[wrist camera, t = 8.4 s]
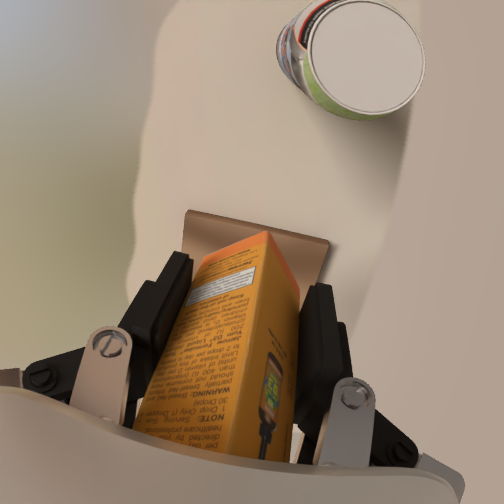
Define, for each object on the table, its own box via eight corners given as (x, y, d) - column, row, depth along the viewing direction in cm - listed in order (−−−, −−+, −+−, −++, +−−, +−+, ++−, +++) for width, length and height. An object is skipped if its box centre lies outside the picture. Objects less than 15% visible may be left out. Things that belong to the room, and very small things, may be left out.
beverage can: (320, 4, 17) (350, -65, 6) (385, 77, 19) (469, 74, 9) (256, 52, 19) (229, 15, 9) (324, 123, 21) (360, 156, 11)
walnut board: (188, 209, 26) (185, 214, 25) (327, 240, 26) (328, 245, 25) (178, 340, 34) (175, 346, 33) (281, 362, 34) (281, 369, 33)
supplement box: (194, 256, 13) (92, 495, 4) (269, 225, 12) (224, 522, 3) (233, 312, 14) (183, 533, 6) (303, 290, 13) (299, 541, 5)
